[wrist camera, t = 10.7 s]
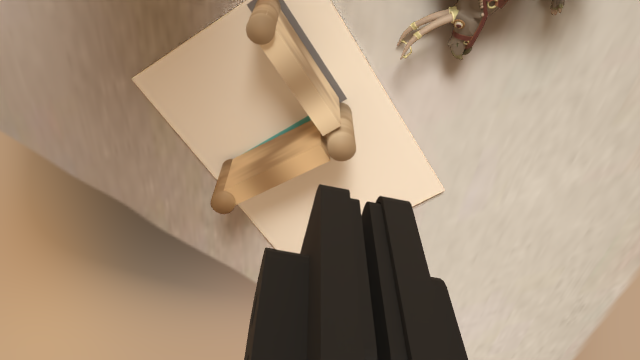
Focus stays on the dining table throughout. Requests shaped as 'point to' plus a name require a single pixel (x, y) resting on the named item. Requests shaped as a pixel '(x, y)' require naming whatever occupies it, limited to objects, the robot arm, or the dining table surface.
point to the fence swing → (269, 166)
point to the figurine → (461, 23)
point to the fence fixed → (303, 77)
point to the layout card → (286, 115)
